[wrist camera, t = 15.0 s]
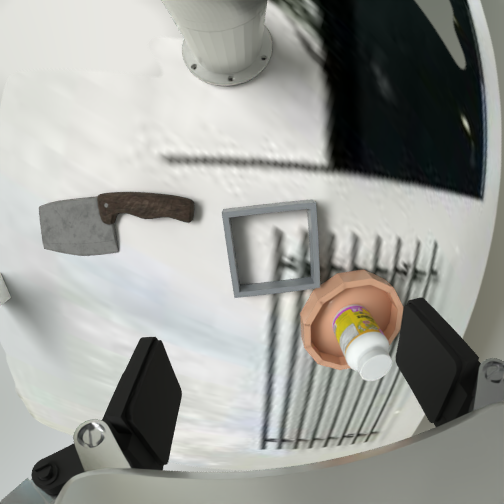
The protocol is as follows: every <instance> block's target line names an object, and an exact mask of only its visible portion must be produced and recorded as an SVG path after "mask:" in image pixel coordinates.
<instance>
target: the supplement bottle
mask: <svg viewBox="0 0 504 504" xmlns="http://www.w3.org/2000/svg"><path fill="white" fill-rule="evenodd" d="M332 328H333V331H334V334H335V336H336V338H337V341H338V343H339V345H340V347H341V350H342V352H343V354H344V357H345V359H346V361H347V363H348V365H349V366H350V367H351V368H352V369H353V370H355V371H358V372H359V373H360V375H361V377H362V378H363V379H364V380H367V381H374V380H377V379H380V378H381V377H383V376H384V375H385V374H386V373H387V372H388V371H389V370H390V368H391V366H392V359H391V357H390V355H389V354H388V353H389V342H388V340H387V338H386V337H385V335H384V334H383V332H382V331H381V329H380V328H379V326H378V325H377V323H376V322H375V320H374V319H373V317H372V316H371V315H370V313H369V312H368V310H367V309H366V308H365V307H363V306H361V305H357V304H352V305H348V306H345V307H343V308H342V309H341V310H339V311H338V312H337V314H336V315H335V317H334V319H333V322H332Z"/></svg>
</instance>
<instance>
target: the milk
mask: <svg viewBox="0 0 504 504" xmlns="http://www.w3.org/2000/svg"><path fill="white" fill-rule="evenodd" d="M10 298H11V296H10V294H9V292H8V289H7V287H6V285H5V282H4V280H3V278H2V275H1V273H0V306H1V305H2V304H4V303H5V302H6V301H7V300H9V299H10Z"/></svg>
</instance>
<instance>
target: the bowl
mask: <svg viewBox="0 0 504 504" xmlns="http://www.w3.org/2000/svg"><path fill="white" fill-rule="evenodd" d="M352 304H357V305H361V306H363V307H365V308H366V309H367V310H368V312H369V313H370V315H371V316H372V317H373V319H374V320H375V322H376V323H377V325H378V326H379V328H380V329H381V331H382V332H383V334H384V335H385V337H386V338H387V340H388V342H389V346H390V344H391V343H392V341H393V340H394V338H395V337H396V335H397V334H398V332H399V331H400V327H401V320H402V314H403V306H402V304H401V301H400V299H399V297H398V295H397V293H396V291H395V289H394V288H393V287H392V286H391V285H390V284H389V283H388V282H387V281H386V280H385V279H383V278H381V277H379V276H377V275H375V274H373V273H370V272H368V271H366V270H358V271H351V272H344V273H337V274H336V275H334V276H333V277H332V278H330V279H329V280H327V281H326V282H324V283H323V284H321V285H320V288H316V289H314V290H313V292H312V293H311V295H310V297H309V299H308V301H307V302H306V304H305V306H304V308H303V310H302V311H301V313H300V317H301V337H302V341H303V344H304V348H305V349H306V350H307V352H308V353H309V354H310V355H311V356H312V357H313V359H314V360H315V361H316V362H317V363H318V364H320V365H323V366H327V367H331V368H335V369H338V370H342V369H347V368H351V367H350V366H349V365H348V363H347V361H346V359H345V357H344V354H343V352H342V350H341V347H340V345H339V343H338V341H337V338H336V336H335V334H334V331H333V328H332V322H333V319H334V317H335V315H336V314H337V312H338V311H339V310H341V309H342V308H343V307H345V306H348V305H352Z"/></svg>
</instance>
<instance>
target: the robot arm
mask: <svg viewBox="0 0 504 504" xmlns="http://www.w3.org/2000/svg"><path fill="white" fill-rule="evenodd" d="M161 1H162V2H163V4H164V5H165V7H166V9H167V10H168V12H169V14H170V15H171V17H172V19H173V21H174V22H175V24H176V26H177V27H178V29H179V31H180V32H181V34H182V36H183V38H184V41H183V45H182V55H183V60H184V62H185V64H186V66H187V68H188V69H189V70H190V72H191V73H192V74H193V75H194V76H196V77H197V78H199V79H200V80H202V81H204V82H206V83H209V84H213V85H219V86H230V85H237V84H241V83H244V82H246V81H248V80H251V79H252V78H254V77H255V76H257V75H258V74H259V73H260V72H261V71H262V70H263V69H264V68H265V67H266V65H267V64H268V62H269V60H270V57H271V54H272V46H273V44H272V37H271V35H270V33H269V31H268V29H267V28H266V26H265V25H264V22H265V14H266V6H267V0H161ZM263 58H264V59H265V60H262V59H263ZM194 67H197V68H196V69H195V70H194ZM230 79H233V81H229V80H230ZM478 359H479V357H478V356H477V355H476V354H475V352H474V351H473V350H472V349H471V348H470V347H469V346H468V345H467V343H466V342H465V341H464V340H463V339H462V338H461V337H460V336H459V335H458V334H457V332H456V331H455V330H454V329H453V328H452V327H451V326H450V325H449V324H448V323H447V322H446V321H445V320H444V319H443V318H442V317H441V316H440V315H439V313H438V312H437V311H436V310H435V309H434V308H433V307H432V306H431V305H430V304H429V303H428V302H427V301H426V300H425V299H424V298H417V299H413V300H409V301H408V303H407V305H405V306H404V311H403V318H402V325H401V331H400V337H399V343H398V348H397V353H396V363H397V366H398V367H399V369H400V371H401V372H402V374H403V376H404V377H405V379H406V381H407V383H408V384H409V386H410V388H411V389H412V391H413V393H414V395H415V396H416V398H417V400H418V402H419V404H420V405H421V407H422V409H423V411H424V413H425V414H426V416H427V418H428V420H429V421H430V422H431V423H434V424H435V426H436V428H433V429H430V430H428V431H425V432H423V433H420V434H418V435H415V436H412V437H410V438H407V439H404V440H401V441H398V442H395V443H392V444H389V445H386V446H383V447H379V448H376V449H372V450H369V451H365V452H361V453H357V454H354V455H349V456H345V457H341V458H336V459H332V460H327V461H322V462H316V463H311V464H305V465H298V466H291V467H284V468H275V469H265V470H253V471H236V472H181V471H163V466H164V465H166V464H167V463H168V460H169V455H170V450H171V445H172V440H173V435H174V430H175V425H176V421H177V416H178V411H179V407H180V402H181V397H182V391H181V388H180V385H179V383H178V381H177V378H176V376H175V373H174V371H173V368H172V366H171V363H170V361H169V358H168V356H167V353H166V351H165V348H164V345H163V343H162V341H161V340H158V339H157V338H156V337H142V338H141V339H140V340H139V342H138V344H137V346H136V349H135V351H134V353H133V355H132V357H131V359H130V361H129V363H128V365H127V368H126V370H125V372H124V373H123V374H122V377H121V379H120V381H119V383H118V385H117V387H116V390H115V392H114V394H113V396H112V399H111V401H110V403H109V405H108V408H107V410H106V412H105V415H104V417H103V419H102V420H97V419H93V420H88V421H85V422H84V423H82V424H81V425H80V426H79V427H78V428H77V429H76V431H75V432H74V437H73V439H74V444H72V445H70V446H68V447H66V448H64V449H62V450H60V451H58V452H56V453H54V454H52V455H50V456H48V457H46V458H44V459H41V460H40V461H39V462H37V463H36V464H35V465H34V468H33V470H32V479H31V480H29V479H28V478H27V479H26V480H25V481H23V482H22V483H21V484H20V485H19V486H18V487H16V488H15V489H14V490H13V491H12V492H11V493H9V494H8V495H7V496H6V497H5V498H4V499H2V501H1V502H0V504H504V361H502V360H500V359H495V358H490V359H486V360H485V361H483V362H482V363H480V362H479V361H478Z"/></svg>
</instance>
